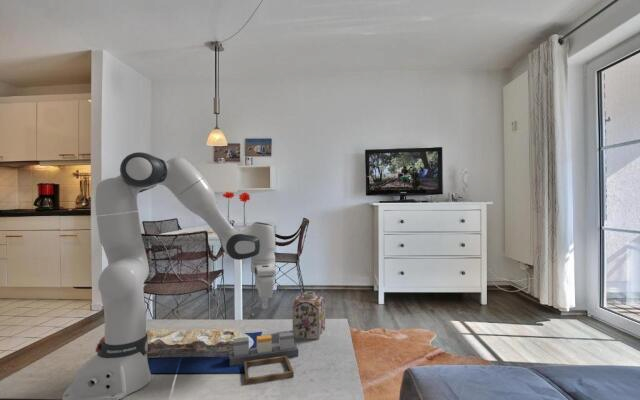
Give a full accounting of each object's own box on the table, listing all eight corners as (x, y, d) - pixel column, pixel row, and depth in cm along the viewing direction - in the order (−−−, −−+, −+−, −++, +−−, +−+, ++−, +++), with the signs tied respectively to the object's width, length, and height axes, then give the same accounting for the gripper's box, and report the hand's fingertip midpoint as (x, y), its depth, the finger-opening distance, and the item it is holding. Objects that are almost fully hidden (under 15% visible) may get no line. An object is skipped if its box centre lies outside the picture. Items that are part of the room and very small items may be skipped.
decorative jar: (325, 331, 140) (325, 290, 141) (319, 342, 129) (319, 297, 129) (299, 328, 143) (299, 288, 143) (291, 339, 132) (291, 295, 132)
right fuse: (280, 357, 114) (280, 336, 114) (278, 353, 117) (278, 333, 117) (294, 355, 116) (293, 335, 116) (292, 351, 119) (292, 332, 119)
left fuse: (233, 363, 110) (233, 342, 110) (233, 359, 112) (233, 339, 113) (248, 361, 111) (248, 340, 111) (248, 357, 114) (248, 337, 114)
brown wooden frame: (246, 387, 97) (246, 379, 97) (243, 369, 108) (243, 361, 108) (293, 380, 101) (293, 372, 101) (286, 362, 112) (286, 355, 112)
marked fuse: (257, 360, 112) (257, 339, 112) (256, 356, 115) (256, 336, 115) (271, 358, 113) (271, 337, 113) (270, 354, 116) (270, 334, 116)
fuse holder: (230, 369, 108) (230, 358, 108) (229, 361, 113) (229, 351, 113) (298, 359, 115) (298, 349, 115) (294, 352, 120) (294, 342, 120)
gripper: (251, 262, 126) (251, 297, 126) (257, 272, 107) (257, 314, 107) (267, 261, 128) (267, 296, 128) (276, 271, 109) (276, 312, 109)
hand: (262, 304), depth 117 cm, fingers open, 8 cm apart
